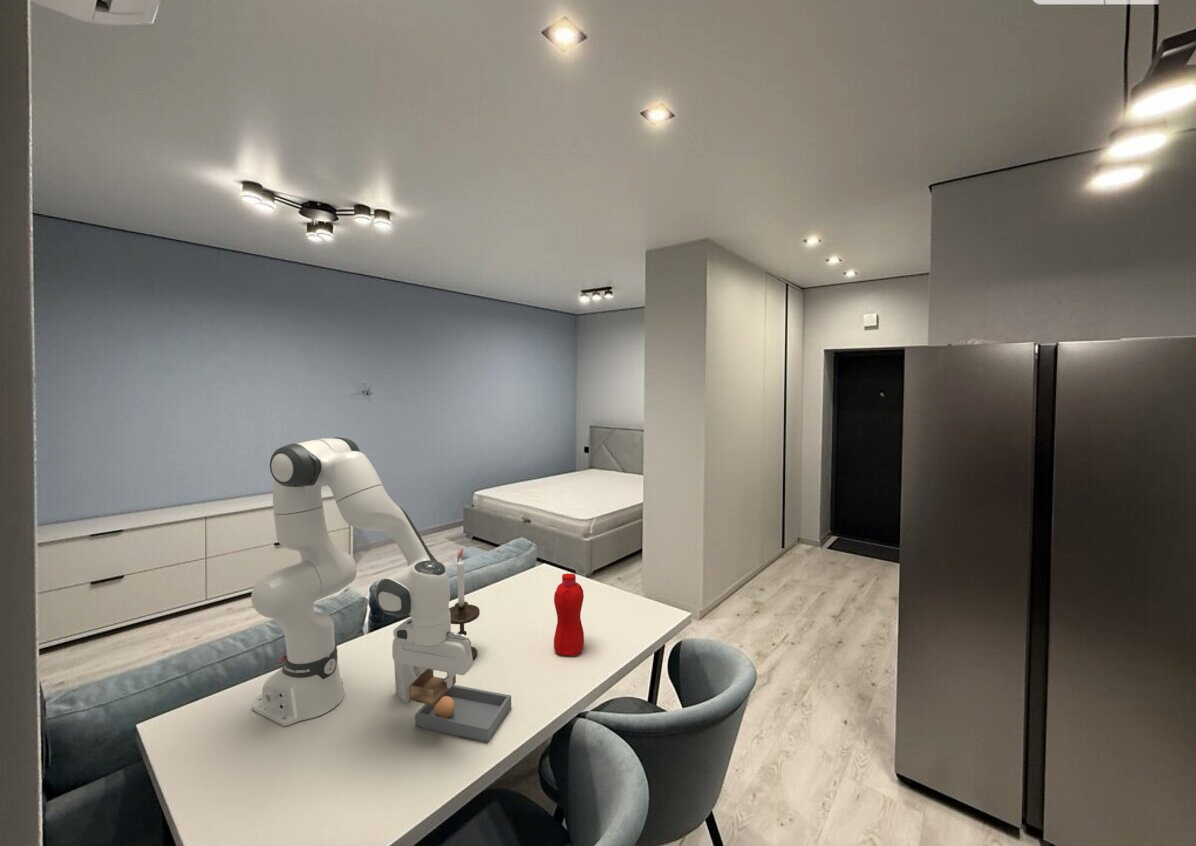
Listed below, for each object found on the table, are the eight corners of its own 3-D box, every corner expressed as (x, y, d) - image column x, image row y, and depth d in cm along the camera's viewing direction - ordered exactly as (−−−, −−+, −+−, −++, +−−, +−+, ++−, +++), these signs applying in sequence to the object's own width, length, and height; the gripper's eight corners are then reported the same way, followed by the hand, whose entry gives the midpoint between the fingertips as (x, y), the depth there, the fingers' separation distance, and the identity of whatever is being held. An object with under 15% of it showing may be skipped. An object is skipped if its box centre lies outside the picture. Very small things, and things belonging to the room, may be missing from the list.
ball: (433, 695, 125) (443, 695, 129) (428, 718, 122) (439, 717, 127) (450, 697, 124) (460, 696, 128) (446, 720, 121) (456, 719, 126)
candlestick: (478, 644, 160) (476, 540, 157) (481, 662, 150) (479, 552, 147) (444, 650, 157) (441, 544, 154) (444, 669, 147) (441, 556, 143)
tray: (415, 727, 122) (415, 714, 122) (444, 694, 135) (444, 682, 135) (488, 743, 117) (487, 729, 117) (511, 707, 130) (511, 695, 129)
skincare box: (423, 680, 141) (421, 628, 140) (433, 690, 137) (432, 637, 135) (394, 693, 136) (392, 639, 134) (404, 704, 131) (402, 649, 129)
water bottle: (585, 639, 163) (585, 567, 161) (581, 658, 153) (581, 581, 150) (558, 638, 164) (558, 566, 162) (552, 656, 154) (551, 579, 151)
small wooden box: (409, 700, 116) (409, 686, 115) (432, 678, 124) (431, 664, 124) (434, 705, 114) (434, 691, 113) (455, 682, 122) (455, 668, 122)
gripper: (477, 629, 118) (478, 683, 119) (404, 617, 123) (406, 669, 125) (463, 642, 112) (464, 699, 113) (387, 629, 117) (389, 684, 119)
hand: (433, 683), depth 119 cm, fingers closed on small wooden box, 7 cm apart
